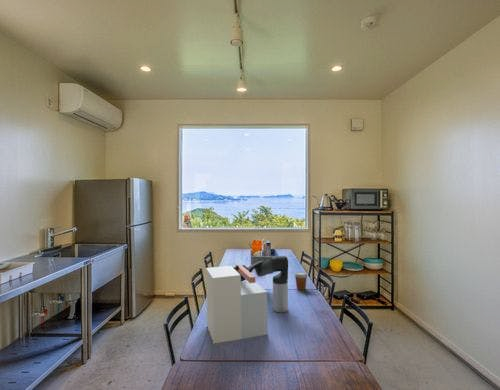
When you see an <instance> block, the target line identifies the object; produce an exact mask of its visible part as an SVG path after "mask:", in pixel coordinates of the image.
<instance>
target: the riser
mask: <svg viewBox="0 0 500 390" xmlns="http://www.w3.org/2000/svg"><path fill="white" fill-rule="evenodd" d="M205 272H206V273H205V280H206V281H205V282H206V283H205V286H206V327H208V328H207V330H208V333H209V332H210V333H209V335H210V337H211V340H213V341H212V343H213V344H214V345H215V343H216V344H221V342H222V343H226V342H227V341H228V342H233V341H239V340H245V339H250V338H256V337H261V336H267V335H268V334H269V333H268V332H269V331H268V330H269V329H268V291H267V290H265V288H263V287H262V286H261V285H260V284H259V283H258V282H257V281H255V283H249V282H248V281H242V282H241V275H240V274H239V273H238V272H237V271H236V270H235V269H234V267H233V266H232V265H224V266H213V267H205Z"/></svg>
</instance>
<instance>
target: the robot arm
mask: <svg viewBox="0 0 500 390" xmlns="http://www.w3.org/2000/svg"><path fill="white" fill-rule="evenodd" d="M242 266H243V267H245V268H246V269H247V270H248V271H249V272H250V273H252V272H253V270H255V274H256V276H258V277H260V278H261V277H265V276H267V275H271V274H274V273H276V272H277V273H278V272H279V273H278V274H277V275H274V276H273V278H272V310H273V311H274V312H276V313H285V312H288V311H289V296H288V295H289V294H288V293H289V288H288V287H289V286H288V283H289V282H288V279H289V259H288V257H287V256H286V255H279V256H271V257H270V258H269V259H267V260H260V261H257V262H254V263H253V264H251V265H249V266H246V265H245V264H243V265H242ZM233 268H234V269H235V270H236V271H237V272H238V270H239V266H236V265H235V266H234V267H233ZM238 273H239V272H238ZM239 274H240V273H239ZM240 275H241V274H240ZM245 281H247V280H246V279H245V278H244V277H243V276H242V275H241V282H245Z"/></svg>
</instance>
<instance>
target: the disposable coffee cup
mask: <svg viewBox="0 0 500 390" xmlns="http://www.w3.org/2000/svg"><path fill="white" fill-rule="evenodd" d="M294 276H295V277H294V278H295V286H296V290H297V289H298V290H297V291H301V290H303V291H305V290H306V288H307V287H306V286H307V279H308V278H307V277H308V273H307V272H305V271H296V272H295V273H294Z"/></svg>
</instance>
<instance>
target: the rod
mask: <svg viewBox="0 0 500 390" xmlns="http://www.w3.org/2000/svg"><path fill="white" fill-rule="evenodd" d="M236 266H239V270H238V272H239V273H240V274H241V275H242V276H243V277H244V278H245V279H246V280H245V281H246V282H249V283H255V282H256V276H255V275H254V274H253V273H252V272H251V273H250V272H249V271H248V270H247V269H246V268H245V267H243V265H242V263H237V264H235V267H236Z"/></svg>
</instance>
